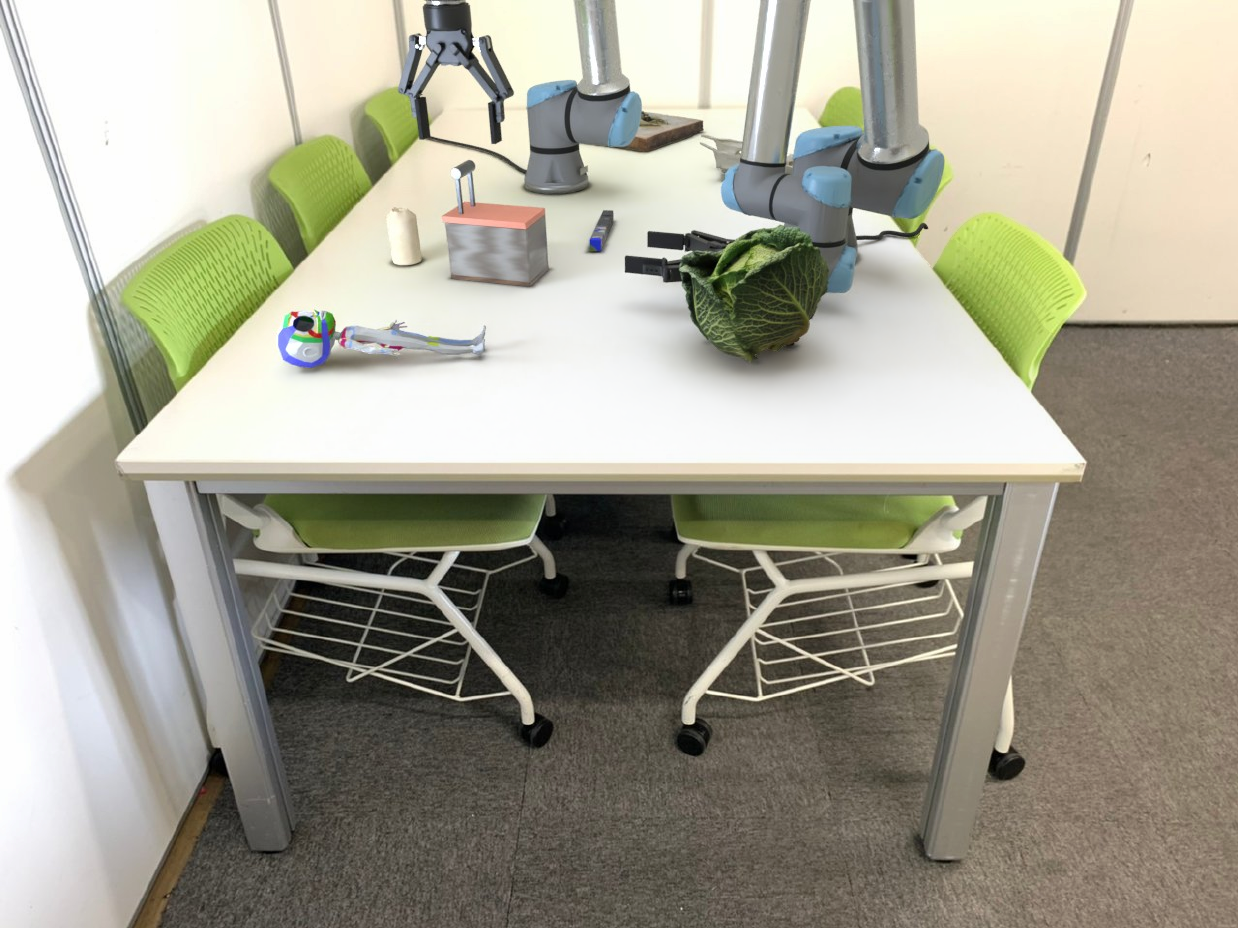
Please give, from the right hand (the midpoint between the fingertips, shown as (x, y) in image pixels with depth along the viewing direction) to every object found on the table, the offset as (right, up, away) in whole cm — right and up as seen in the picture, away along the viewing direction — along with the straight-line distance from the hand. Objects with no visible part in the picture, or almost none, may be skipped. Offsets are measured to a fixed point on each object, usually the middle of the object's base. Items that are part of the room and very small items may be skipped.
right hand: (636, 251), depth 155 cm
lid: (-25, +7, +5) cm, 27 cm away
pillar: (-7, +10, +28) cm, 30 cm away
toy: (-38, -21, -19) cm, 48 cm away
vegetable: (+17, -19, -18) cm, 31 cm away
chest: (-25, -2, +11) cm, 27 cm away
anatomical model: (+29, +34, +66) cm, 80 cm away
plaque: (+1, +58, +104) cm, 120 cm away
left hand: (-30, +19, 0) cm, 36 cm away
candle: (-44, +2, +17) cm, 47 cm away
